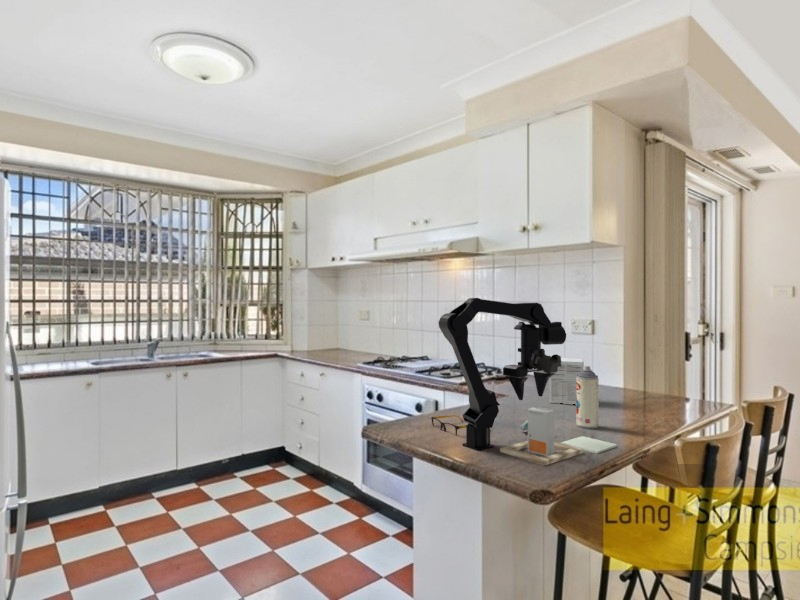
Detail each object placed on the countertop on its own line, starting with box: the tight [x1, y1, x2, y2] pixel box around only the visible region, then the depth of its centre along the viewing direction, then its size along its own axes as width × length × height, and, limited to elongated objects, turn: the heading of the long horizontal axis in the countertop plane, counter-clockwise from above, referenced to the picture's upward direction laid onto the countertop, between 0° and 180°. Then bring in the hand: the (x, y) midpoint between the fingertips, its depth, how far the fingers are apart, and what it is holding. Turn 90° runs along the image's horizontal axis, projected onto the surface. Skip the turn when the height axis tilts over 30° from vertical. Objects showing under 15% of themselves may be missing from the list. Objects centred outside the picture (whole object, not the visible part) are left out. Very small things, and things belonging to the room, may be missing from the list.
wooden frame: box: [499, 440, 583, 466], centre depth 130 cm, size 17×14×1 cm
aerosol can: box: [575, 365, 600, 430], centre depth 158 cm, size 7×7×20 cm
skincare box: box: [527, 406, 555, 457], centre depth 130 cm, size 6×4×12 cm
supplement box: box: [549, 357, 585, 406], centre depth 199 cm, size 13×13×18 cm
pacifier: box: [519, 419, 528, 431], centre depth 148 cm, size 7×6×6 cm
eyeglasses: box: [431, 414, 492, 436], centre depth 154 cm, size 14×14×4 cm
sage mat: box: [560, 435, 618, 454], centre depth 137 cm, size 11×11×1 cm
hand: (530, 398), depth 140 cm, fingers open, 9 cm apart
